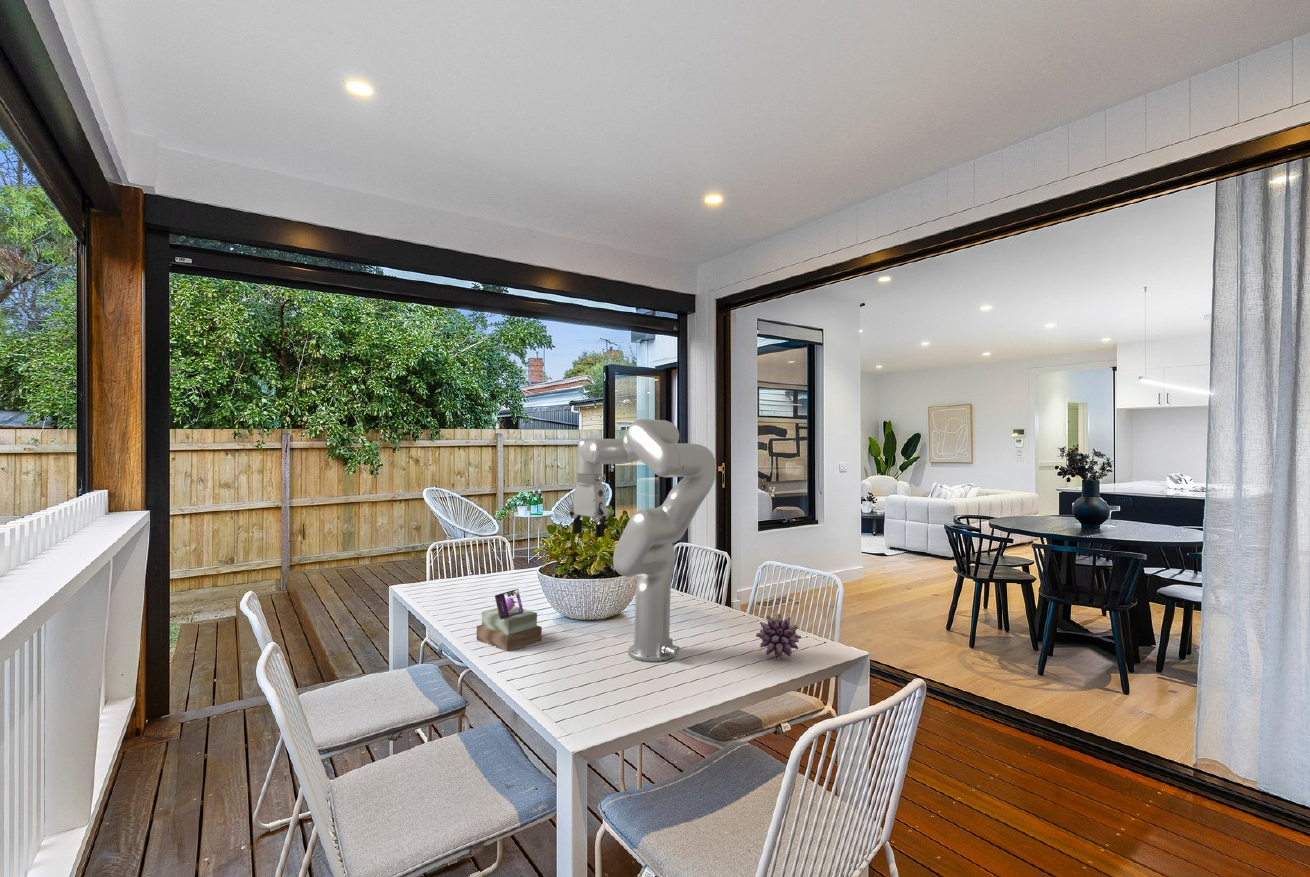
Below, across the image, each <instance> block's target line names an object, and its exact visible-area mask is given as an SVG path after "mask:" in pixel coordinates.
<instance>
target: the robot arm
mask: <svg viewBox="0 0 1310 877" xmlns="http://www.w3.org/2000/svg"><path fill="white" fill-rule="evenodd" d="M679 440H680V432H679V429H678V427H677V426H676V425H675V424H674V423H672V422H671V421H669V420H665V419H646V418H645V419H643V418H642V419H637V420H635V421H633V422H632V423H631V424H630V425H629V426H628V428H627V431H626V432H625V433H624V435H623V438H622V439H621V438H594V439H592V438H591V439H590V438H583V439H579V441H578V443H577V467H576V468H577V471H576V472H577V474H576V475H577V478H576V484H575V489H574V494H573V495H574V497H573V502H572V503H570V504H569V505H568V506H567V508H568V512H569V516H570V518H571V521H572V534H574V535H578V534H581V533H583V532H582V530H583V529H582V528H583V521H582V519H581V518H582V517H586V518H587V517H588V518H594V520H595V521H596V524H595V535H594V536H595V538H603V537H604V536H605V524H607V521H608V520H609V518H610V515H611V513H612V511H611V509H610V508H608V507H607V505H606V504H607V502H606V491H605V485H604V484H602V483H603V481H604V477H603V475H602V474H603V465H622V464H624V465H625V464H629V463H634V462H638V461H641V462H642V463H643V464H645V466H646V467H647V468H648V469H649V470H650V471H651V472H652V473H653V474H655V475H657V476H659V477H662V478H680V477H681V478H682V477H683V478H682V479H681V480H680V481H678V483H676V484H675V485H674V486H673V487H672V488H671V489H670V491H669V492H668V494H667V497H666V498H665V500H664V501H663V503H662V504H661V505H660V506H658V507H652V508H643V509H641V510H638V511H636V512H634V514H633V515H632V516H631V517H630V518H629V520H628V521H627V524H626V526H625V527H624V529H623V532H622V534H621V535H620V537H619V539H618V541H617V543H616V545H615V548H614V551H613V556H612V561H613V562H612V563H613V564H612V565H613V567H614V569H615V571H616V572H617V573H618V574H619V575H621V576H622V577H626V578H627V577H628V578H629V577H630V578H631V577H633V578H634V577H638V580H637V581H636V585H635V597H634V598H635V600H634V634H633V636H634V638H633V640H634V641H633V645H631V646H629V648H628V650H627V651H628V652H627V654H628V655H629V656H630V657H631V658H633V659H635V660H639V661H642V660H643V662H662V660H664V661H668V660H669V659H672V658H673V657H676V656H678V655H679V652H680V649H681V647H680V646H679V645H674V644H673V638H671V637H670V632H671V631H670V626H671V591H672V590H671V587H672V576H673V575H672V574H673V570H674V566H675V561H676V551H675V548H674V545H673V543H676V542H678V541H680V540H681V539H682V538H683V537H684V535H685V533H686V531H687V529H688V528H689V526H690V524H691V523H692V521H693V518H694V517H695V516H696V514H697V511H698V509H699V508H700V507H701V504H702V503H703V501H704V500H705V498H706V497H707V496H708V495H709V493H710V491H711V489H712V487H713V485H714V483H715V480H716V475H717V463H716V459H715V455H714V454H713V453H712V450H710V449H709V448H708V447H706V446H704V445H702V444H697V443H690V442H689V443H687V442H686V443H685V442H684V443H681V442H680V443H679ZM606 507H607V508H606ZM594 513H595V514H594Z"/></svg>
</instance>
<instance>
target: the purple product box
mask: <svg viewBox="0 0 1310 877" xmlns="http://www.w3.org/2000/svg"><path fill="white" fill-rule="evenodd" d="M505 595H507V597H508V598H506V596H505ZM513 596H515V597H516V598H517V601H515V600H514V597H513ZM494 597H495V598H494V599H495V603H496V608H498V614H499V617H500V620H501V619H504V618H507V617H510V616H513V615H516V614H519V613H522V612H523V609H524V608H523V604H522V600H521V595H520V591H519V589H518V588H516V589H512V590H508V591H506V592H502V593H499V594H495V595H494ZM509 597H510V598H509ZM516 603H517V604H518V607H519V608H520V609H521V611H520V609H518V611H519V612H518V613H515V614H512V615H509V613H508V611H510V610H511V609H512V608H513V607H514V606H515V607H516Z"/></svg>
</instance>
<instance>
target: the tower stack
mask: <svg viewBox="0 0 1310 877" xmlns="http://www.w3.org/2000/svg"><path fill="white" fill-rule="evenodd" d="M518 609H520V608H519V606H516V605H515V606H514V607H513V608H512V609H511V610H510V611H508V613H509V615H512V614H515V613H518V612H519V611H518ZM520 611H521V609H520ZM542 630H543V628H542V626H541V625H538V613H537V612H534V611H532V610H529V609H526V608H523V612H522V613H519V614H516V615H513V616H510V617H507V618H504V619H501V620H500V617H499V614H498V608H497V607H496V608H493V609H489V610H484V611H482V612H481V624H480V625H479V624H478V625H476V639H477V640H476V641H478V640H479V641H478V642H481V643H483V642H485V643H484V644H486V643H488V644H487V645H489V644H490V645H489V646H491V645H492V647H494V646H496V647H495V648H497V647H498V648H497V649H499V648H501V649H500V650H502V649H503V651H506V652H509V651H513V650H516V648H517V649H519V648H520V649H521V648H522V646H523V647H525V646H529V645H533V644H536V643H539V642H542V638H543V637H542V636H543V634H542V633H543V631H542Z"/></svg>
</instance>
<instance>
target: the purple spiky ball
mask: <svg viewBox="0 0 1310 877" xmlns="http://www.w3.org/2000/svg"><path fill="white" fill-rule="evenodd" d="M766 617H767V618H766V621H767V623H766V622H761V621H760V622H759V624H760V627H761V628H760V630H759V632H758V633H755V634H756V635H755V636H756V638H759V639H761V643H760V644H759V645H760V648H765V647H766V648H767V649H766V653H765V655H767V656H769V655H770V654H771V653H773V652H774V654H775V656H776V655H777V658H779V659H778V660H781V656H782V655H783V654H785V655H786V656H787V657H788V656H790V657H792V654H793V650H792V649H796V650H799V648H800V647H799V646H798V645H797V644H796V643H799V642H800V639H802V636H801V635H799V634H798V633H797V632H796V631H797V630H798V629H799V626H798V624H793V625H791V619H792V617H791V616H788V617H787V618H785V619H783V618H782V614H781V613H777V614H776V617H775V618H773V617H771V615H770V614H768V615H766ZM777 658H776V659H777Z"/></svg>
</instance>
